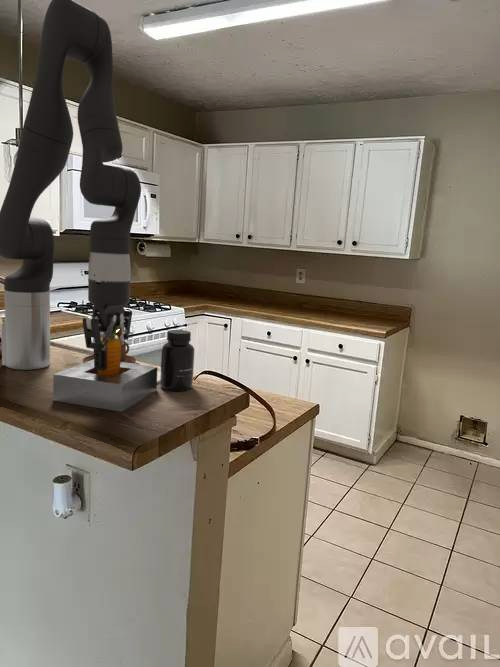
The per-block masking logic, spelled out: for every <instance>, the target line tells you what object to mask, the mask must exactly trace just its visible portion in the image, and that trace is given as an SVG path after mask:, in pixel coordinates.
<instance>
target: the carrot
mask: <svg viewBox="0 0 500 667" xmlns="http://www.w3.org/2000/svg"><path fill="white" fill-rule="evenodd" d="M120 328H121V326H120V325H119V326H117V327H115V329H114V331H113V332H112V337H111V339H109V340H108V344H107V349H106V351H107V368H106V370H103V371H102V370H97V371H98V374H99V375H106V376H112V377H115V376H117V375H118V374H119V369H120V362H121V342H120V340H119V339H117V338H113V336H114V334H115V333H116V332H117V330H118V329H120ZM105 333H106V332H103V334H105ZM102 341H103V338H101V344H102Z"/></svg>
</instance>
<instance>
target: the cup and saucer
mask: <svg viewBox="0 0 500 667" xmlns="http://www.w3.org/2000/svg"><path fill="white" fill-rule="evenodd" d="M129 351H130V345H129V343H127V341H126V340H125V341H124V344H123V345H122V362H126V363H133V364H136V361H137V359H136V357H133V356H131V355H127V354H128V353H129ZM93 359H94V354H92V355H87V356H85V357H84V358H83V359H82V362H83V363H85V362H88V361H91V360H93ZM83 363H82V364H83Z"/></svg>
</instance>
